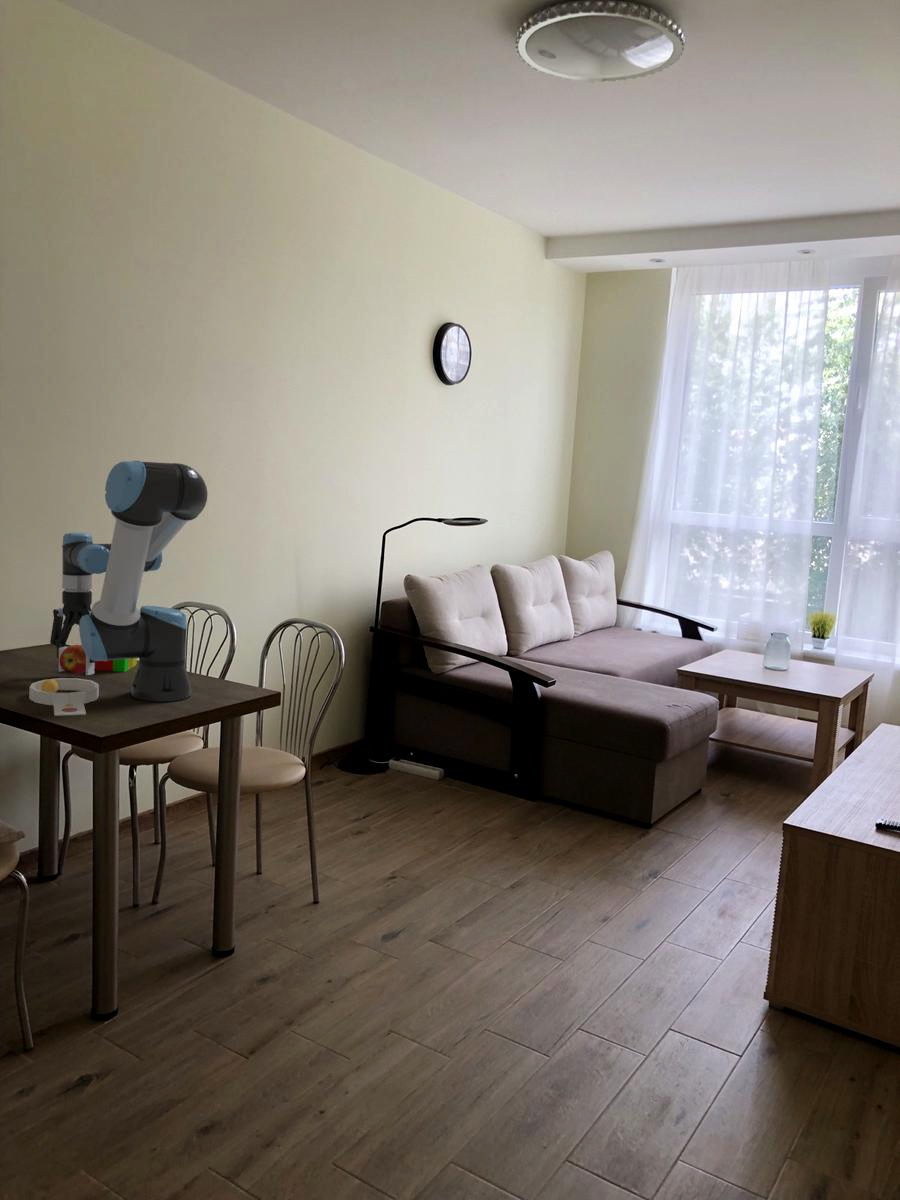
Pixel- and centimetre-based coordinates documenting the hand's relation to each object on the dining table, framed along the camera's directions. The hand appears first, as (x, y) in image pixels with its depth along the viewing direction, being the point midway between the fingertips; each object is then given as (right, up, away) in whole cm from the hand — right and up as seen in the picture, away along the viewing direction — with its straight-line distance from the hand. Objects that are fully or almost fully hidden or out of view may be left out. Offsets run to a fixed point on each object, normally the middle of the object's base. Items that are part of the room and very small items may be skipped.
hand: (76, 672), depth 274 cm
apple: (0, 0, 0) cm, 1 cm away
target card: (+10, -7, -30) cm, 32 cm away
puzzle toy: (+4, 0, +17) cm, 17 cm away
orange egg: (0, -4, -18) cm, 19 cm away
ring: (+4, -5, -19) cm, 20 cm away
